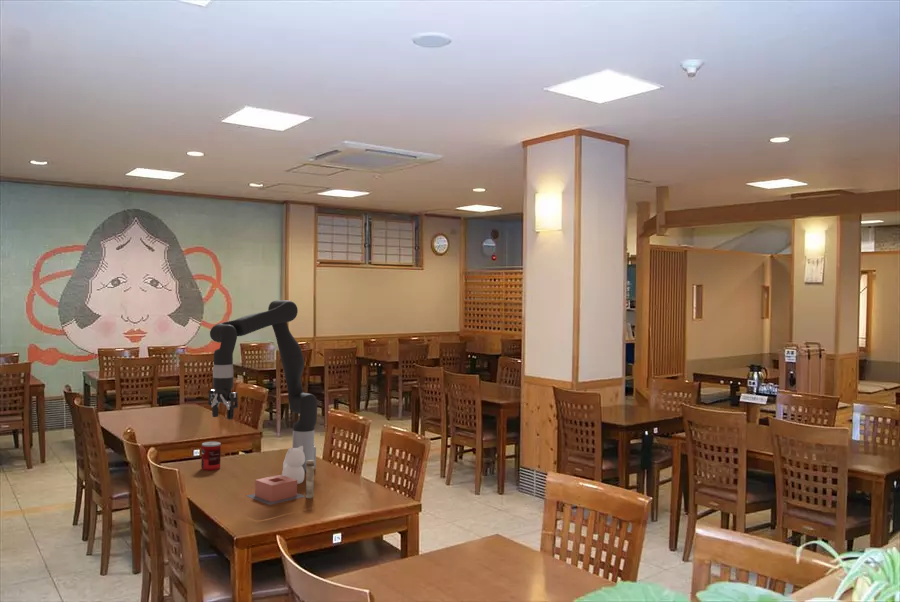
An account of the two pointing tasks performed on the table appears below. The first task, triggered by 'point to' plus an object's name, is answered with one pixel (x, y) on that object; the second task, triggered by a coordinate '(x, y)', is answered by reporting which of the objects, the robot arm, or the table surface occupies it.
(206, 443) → the canned food
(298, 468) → the cat figurine
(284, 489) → the pink square peg base
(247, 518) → the table surface
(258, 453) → the table surface
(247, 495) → the mat
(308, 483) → the grey beige cylinder
